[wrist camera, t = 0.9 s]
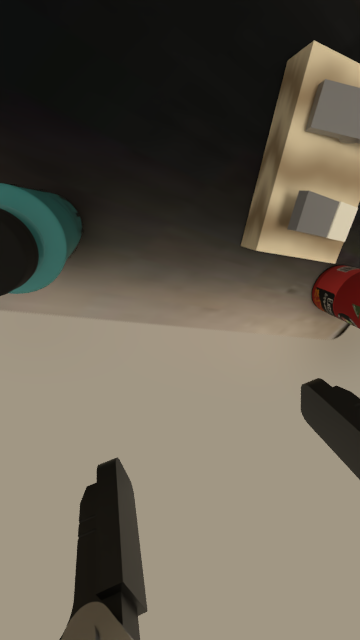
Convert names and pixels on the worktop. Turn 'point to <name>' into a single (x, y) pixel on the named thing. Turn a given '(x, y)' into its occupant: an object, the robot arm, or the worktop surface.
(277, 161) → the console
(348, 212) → the switch
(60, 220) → the beverage bottle
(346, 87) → the switch
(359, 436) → the robot arm
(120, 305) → the worktop surface
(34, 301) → the worktop surface
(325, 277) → the canned food
